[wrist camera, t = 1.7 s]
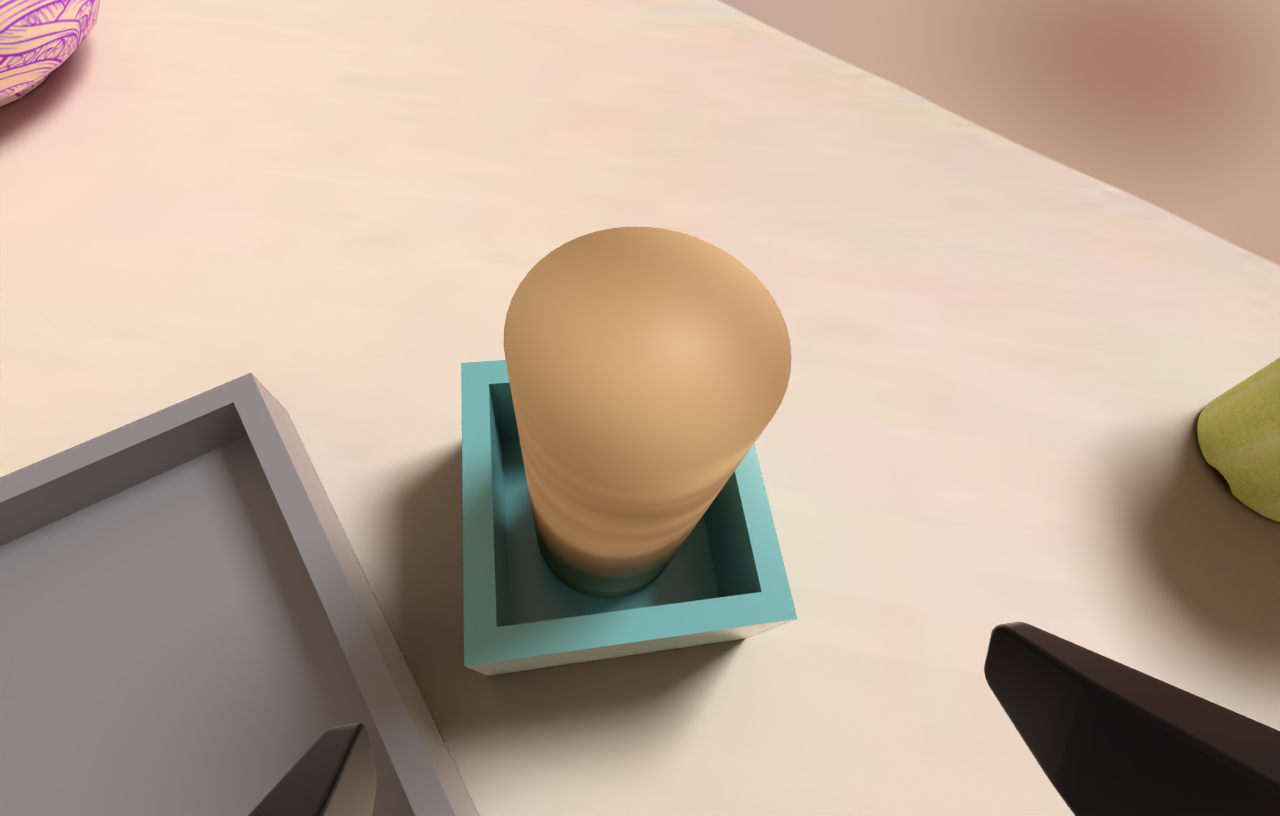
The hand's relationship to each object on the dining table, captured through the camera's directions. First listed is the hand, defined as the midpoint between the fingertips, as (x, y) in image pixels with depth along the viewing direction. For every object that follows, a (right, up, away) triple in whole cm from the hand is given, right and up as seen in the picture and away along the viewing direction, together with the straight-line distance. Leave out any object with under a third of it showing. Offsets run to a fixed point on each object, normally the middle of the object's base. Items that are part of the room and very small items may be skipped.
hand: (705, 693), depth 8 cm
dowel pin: (-2, 0, +13) cm, 13 cm away
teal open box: (-2, 0, +13) cm, 13 cm away
